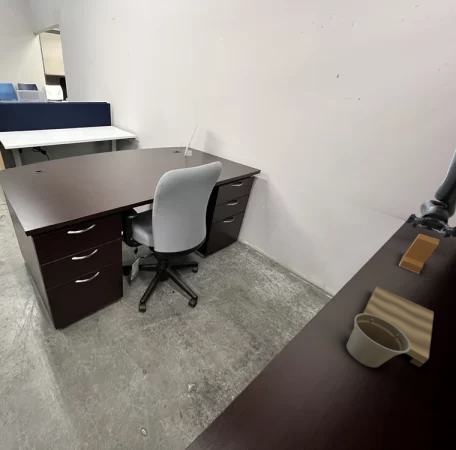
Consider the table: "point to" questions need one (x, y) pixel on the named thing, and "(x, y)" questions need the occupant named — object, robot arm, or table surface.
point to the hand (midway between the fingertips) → (430, 230)
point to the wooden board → (404, 321)
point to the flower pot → (376, 340)
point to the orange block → (419, 252)
